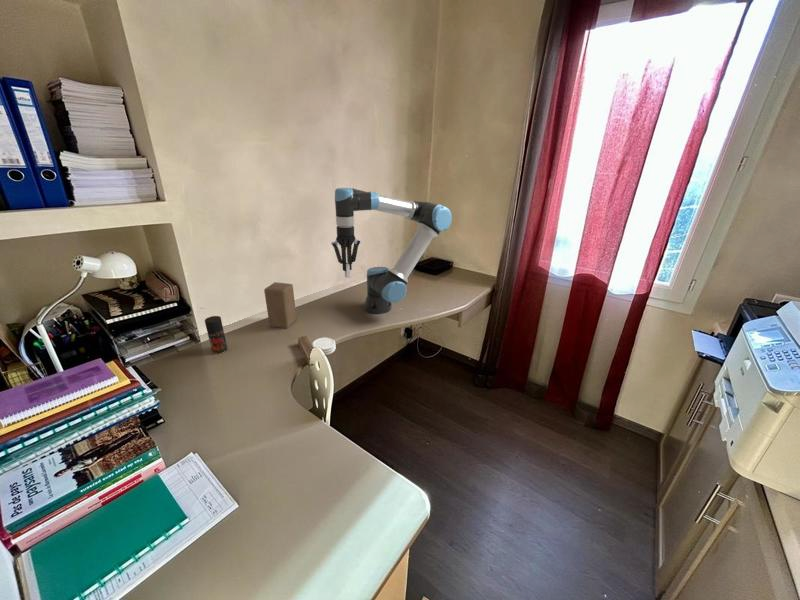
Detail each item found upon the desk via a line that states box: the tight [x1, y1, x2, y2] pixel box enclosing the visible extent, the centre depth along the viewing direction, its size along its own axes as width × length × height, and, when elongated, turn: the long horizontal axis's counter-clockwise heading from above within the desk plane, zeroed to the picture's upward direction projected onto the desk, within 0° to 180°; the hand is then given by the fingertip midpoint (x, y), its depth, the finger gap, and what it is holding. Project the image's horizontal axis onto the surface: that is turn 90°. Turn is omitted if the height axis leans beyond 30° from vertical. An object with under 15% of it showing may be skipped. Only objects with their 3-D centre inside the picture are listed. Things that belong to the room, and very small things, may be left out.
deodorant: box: [204, 315, 228, 354], centre depth 141 cm, size 6×6×15 cm
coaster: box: [311, 337, 337, 356], centre depth 146 cm, size 10×10×4 cm
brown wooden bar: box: [297, 335, 313, 366], centre depth 143 cm, size 4×18×4 cm, turn 28°
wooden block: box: [263, 282, 297, 329], centre depth 163 cm, size 10×10×20 cm
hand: (347, 277), depth 155 cm, fingers closed
